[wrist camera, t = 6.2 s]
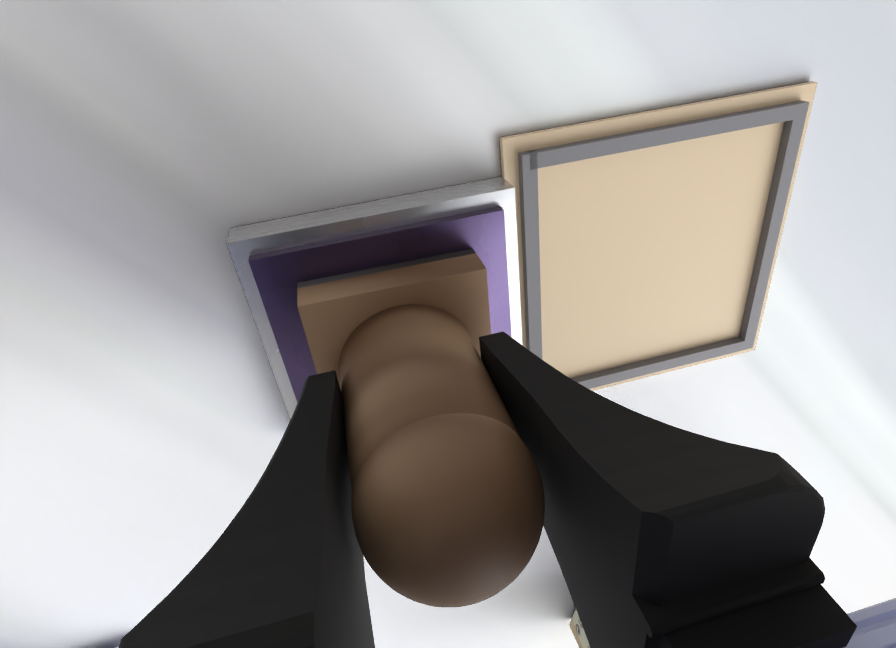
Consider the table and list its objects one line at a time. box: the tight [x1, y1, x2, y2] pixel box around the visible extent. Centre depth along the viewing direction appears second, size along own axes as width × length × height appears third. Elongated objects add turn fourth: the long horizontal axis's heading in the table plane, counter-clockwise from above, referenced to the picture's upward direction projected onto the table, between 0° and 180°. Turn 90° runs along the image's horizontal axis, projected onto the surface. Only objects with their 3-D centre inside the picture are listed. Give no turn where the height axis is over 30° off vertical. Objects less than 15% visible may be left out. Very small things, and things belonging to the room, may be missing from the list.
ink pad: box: [226, 176, 522, 420], centre depth 15 cm, size 7×7×1 cm
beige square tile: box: [500, 81, 817, 391], centre depth 17 cm, size 9×9×1 cm
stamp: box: [297, 249, 545, 607], centre depth 12 cm, size 4×4×7 cm
